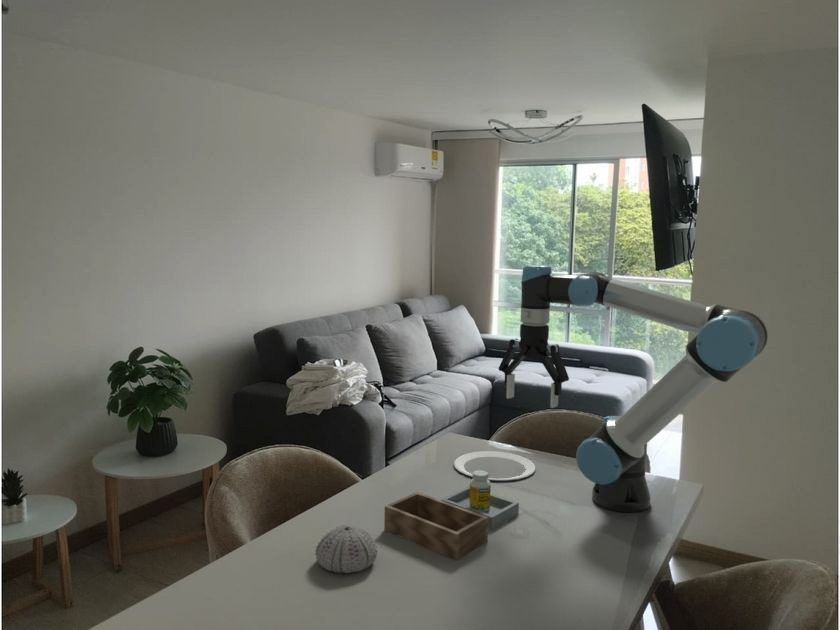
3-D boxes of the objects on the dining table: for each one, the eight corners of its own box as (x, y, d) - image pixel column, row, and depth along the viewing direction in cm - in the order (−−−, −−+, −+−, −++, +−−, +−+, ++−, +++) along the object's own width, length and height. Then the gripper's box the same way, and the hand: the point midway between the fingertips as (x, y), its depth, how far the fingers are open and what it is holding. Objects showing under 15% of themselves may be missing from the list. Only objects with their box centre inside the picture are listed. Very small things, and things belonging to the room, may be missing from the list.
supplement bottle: (481, 502, 178) (482, 467, 177) (494, 509, 174) (495, 474, 172) (465, 507, 175) (465, 471, 174) (477, 514, 171) (478, 478, 169)
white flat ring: (548, 464, 211) (548, 460, 211) (514, 490, 190) (514, 486, 190) (477, 449, 224) (477, 445, 224) (438, 471, 204) (438, 467, 203)
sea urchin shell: (304, 559, 149) (304, 525, 148) (357, 543, 157) (357, 510, 156) (335, 585, 138) (335, 548, 137) (389, 566, 146) (390, 531, 145)
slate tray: (518, 513, 174) (518, 502, 173) (491, 529, 165) (492, 517, 164) (468, 496, 184) (468, 486, 184) (440, 510, 175) (441, 499, 175)
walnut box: (487, 541, 158) (488, 517, 158) (456, 560, 149) (456, 534, 149) (416, 514, 173) (417, 491, 172) (384, 529, 164) (384, 506, 163)
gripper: (487, 320, 183) (485, 396, 186) (570, 330, 167) (566, 413, 170) (503, 317, 189) (500, 391, 192) (584, 327, 173) (580, 408, 176)
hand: (531, 402), depth 181 cm, fingers open, 13 cm apart
